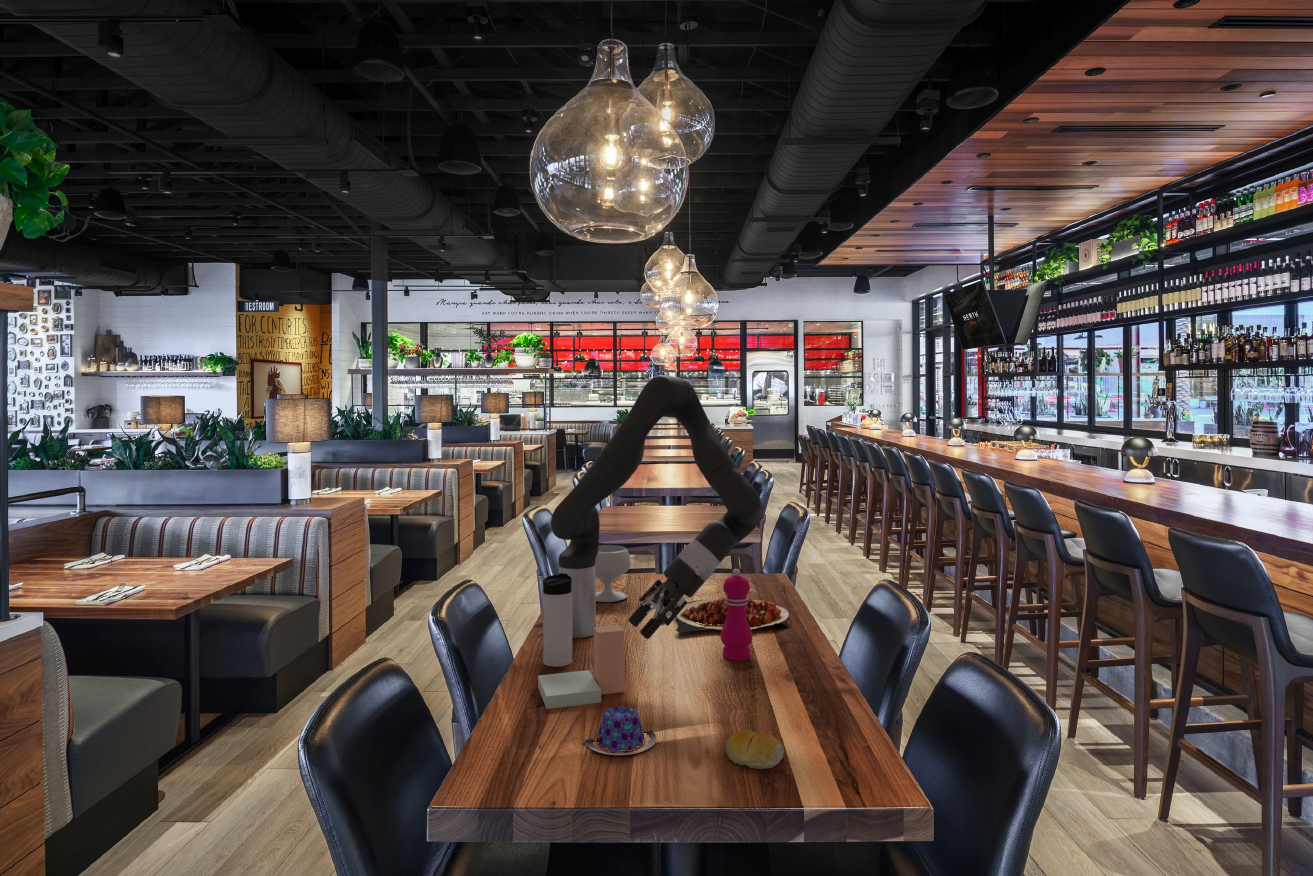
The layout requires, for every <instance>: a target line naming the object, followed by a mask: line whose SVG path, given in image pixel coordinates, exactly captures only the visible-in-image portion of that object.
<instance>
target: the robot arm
mask: <svg viewBox="0 0 1313 876" xmlns="http://www.w3.org/2000/svg"><path fill="white" fill-rule="evenodd" d="M662 418H673V419H676V420H677V421H678V422H679V423H680V425H682V427H683V428H684V430H685V431H686V433H687V434H688V437H689V440H690V445H691V450H692V451H691V452H692V455H693V460H694V462H695V464H696V466H697V469H699V471H700V473H701V474H702V476H703V477H704V478H705V480H706V481H707V483H708V485H709V486H710V487H711V488H712V490H713V491H715V492H716V493H717V495H718V496H719V498H720V499H721V501H722V503H723V504H724V506H725V508H726V512H725V513H723V515H722V516H721V517H720V518H719V519H717V521H712V522H709V523H708V524H707V525H705V526H704V528H703V529H702V530H701V531H700V532H699V533H698V535H697V536H695V538H694V539H693V540H692V541H691V542H690V543H688V544H687V545H686V546H685V547H684V548H683V549H682V551H680V553H679V554H678V555H677V556H676V557H675V558H674V560H673V561H672V562H671V563H670V564H669V565H668V566H667V567H666V568H665V569H664V571H663V575H664V577H665V578H666V580H665V581H664V582H663V581H661V579H656V581H655V582H653V584H652V585H651V586H650V587H649V588H648V589H647V590H646V591H645V592H644V593H643V594H642V595H641V597H640V598H639V602H640V603H639V606H638V607H637V608H636V609H635V610H634V612H633V613H632V614H631V615H630V616H629V618H627V619H628V622H629V623H630V624H631V625H632V626H633V627H635V628H636V627H638V626H639V625H640V624H641V622H643V620H644V619H645V618H646V617H647V615H649V613H651V612H652V611H654V610H655V612H654V614H653V615H652V617H651V618H650V619H649V620H648V621H647V622H646V623H645V624H644V626H643V627H642V628H641V629H640V630H639V633H640V635H641V636H642V637H644V639H646V640H650V638H651V637H652V636H653V635H654V633H656V631H658V629H659V628H660V627H661V626H664V625H666V626H667V627H669V626H670V625H671V624H672V623H673V621H674V620H675V619H676V616H677V615H678V614H679V613H680V611H681V610H682V609H683V608H684V607H685V605H686V604H687V603H688V601H687V600H686V599H685V598H684V595H685V596H686V597H687V598H692V597H694V595H695V594H697V592H698V591H699V589H700V588H701V587H702V586H703V585H704V584H705V582H706V581H707V580H709V578H710V577H711V576H712V575H713V573H714V572H715V570H716V569H717V567H719V565H720V563H722V561H723V560H724V559H726V557H727V556H728V555H729V554H730V552H731V551H732V549H733V548H734V547H735V546H736V545H737V544H739V543H740V542H742V540H743V539H745V538H746V537H748V536H749V535H750V534H751V533H753V531H754V530H755V529H756V528H757V526H758V525H759V524H760V523H761V521H762V519H763V516H764V510H763V504H762V499H761V496H760V495H759V493H758V491H757V490H756V489H755V487H754V486H753V485H752V483H750V481H749V479H747V478H746V476H745V475H744V474H743V473H742V472H741V471H740V469H739V468H738V465H737V464H736V463H735V461H734V460H733V458H732V456H731V455H730V454H729V452H728V451H727V449H726V448H725V446H724V445H723V444H722V442H721V440H720V439H719V437H718V436H717V433H716V432H715V430H714V428H713V426H712V424H711V422H710V420H709V418H708V416H707V413H706V411H705V410H704V407H703V405H702V403H701V401H700V399H699V396H698V394H697V392H696V390H695V388H694V387H693V385H692V384H691V382H689V381H688V380H687V379H685V378H682V377H679V376H671V375H665V374H661V375H660V374H659V375H656V376H655V375H654V376H653V377H652V378H650V379H649V380H648V382H647V383H646V384H645V385H644V386H643V388H642V390H641V391H640V393H639V394H638V396H637V398H636V399H635V402H634V403H633V405H632V406H631V409H630V410H629V412H628V414H627V415H626V417H625V418H624V420H623V422H622V423H620V426H619V427H618V428H617V430H616V432H614V434H613V436H612V437H611V438H610V439H609V441H608V442H607V443H606V444H605V446H604V447H603V449H602V450H601V451H600V453H598V455H597V456H596V458H595V459H594V461H593V463H592V464H591V466H589V468H588V469H587V471H586V472H585V473H584V475H583V476H582V477H581V479H580V480H579V481H578V482H577V484H576V485H575V486H574V488H573V489H571V491H570V492H569V493H568V494H567V495H566V496H565V497H564V498H563V499H562V501H560V502H559V503H558V504H557V506H556V507H555V509H554V510H553V512H552V515H551V519H550V528H551V531H552V532H551V533H552V534H553V535H554V536H555V537H556V538H558V539H560V540H563V541H569V543H568V545H567V547H566V548H565V549H564V550H563V551H562V552H561V553H560V554H559V555H558V575H559V574H560V573H566V574H568V576H570V577H571V578H572V587H571V588H572V639H583V638H588V637H591V636H594V627H597V624H596V623H597V621H596V618H597V610H596V608H597V604H596V588H597V586H596V581H597V579H596V578H597V577H595V560H596V556H597V554H598V549H599V546H600V515H599V510H598V509H597V507H596V506H597V505H599V504H600V503H601V502H602V501H603V500H605V499H607V498H608V497H609V496H611V495H612V494H614V493H615V492H616V491H618V490H619V489H621V488H622V486H624V485H625V484H626V483H627V482H628V481H629V480H630V478H631V477H632V476H633V475H634V473H635V472H636V470H637V469H638V468H639V466H640V465H641V463H642V462H643V461H642V460H643V457H644V453H645V451H644V450H645V445H646V444H645V443H646V439H647V437H648V435H649V433H650V432H651V431H652V430H653V428H654V427H655V425H656V424H657V423H658V422H659V421H660V420H661V419H662Z"/></svg>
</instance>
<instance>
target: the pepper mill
mask: <svg viewBox="0 0 1313 876" xmlns="http://www.w3.org/2000/svg"><path fill="white" fill-rule="evenodd" d="M722 588H723V592H724V594H726V596H725V597H724V598H725V599H726V604H727V605H728V615H727V619H726V621H725V624H724V625H722V628H721V630H720V631H721V632H720V641H721V643H722V645H724V646H723V647H722V657H723V658H724V659H726V660H729V661H736V662H737V661H745V660H748V659H750V658H751V648H750V647H749V646H750V645H751V644H752V642H753V631H752V629H750V628H751V627H750V626H749V624H748V622H747V619H746V615H745V607H746V604H747V603H748V602H747V599H749V598H748V596H747V595H748V594H749V593H750V589H751V586H750V582H749V581H748V579H747V578H746V577H744V576H742V575H741V571H740V569H738V568H734V569H733V570H732V575H730V576H728V577H727V578H725V580H724V582H723V587H722Z"/></svg>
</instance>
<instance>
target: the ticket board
mask: <svg viewBox="0 0 1313 876" xmlns="http://www.w3.org/2000/svg"><path fill="white" fill-rule="evenodd" d="M537 688H538V691H539V693H540V696H541V698H542V701H543V703H544V706H545V708H546V710H549V709H558V708H564V707H565V708H566V707H575V706H581V705H591V704H597V703H599V704H601V703H602V695H601V689H600V687H599V686H598V684H597V682H596V681H595V679H594V675H593V674H592V673H591V671H590V670H589V669H588V670H579V671H578V670H576V671H568V672H559V673H558V672H557V673H550V674H542V675H541V674H540V675H538V676H537Z"/></svg>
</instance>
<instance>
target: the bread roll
mask: <svg viewBox="0 0 1313 876" xmlns="http://www.w3.org/2000/svg"><path fill="white" fill-rule="evenodd" d="M725 745H726V746H725V748H726V754H727V757H728V758H729V760H730V761H731V760H732V761H733V762H732V761H731V762H732V763H734V764H736V763H737V764H736V765H738V764H739V766H742V765H743V767H745V766H744V765H746V767H748V768H751V769H753V768H755V769H756V770H766V769H771V768H774V767H775V766H777V765H779V764H780V762H781V761H782V759H783V758H784V753H785V749H784V747H783V746H782V743H781V741H780V740H779V739H777V738H776V737H775V736H773V735H772V734H769V733H765V732H762V733H759V734H758V733H757V732H755V731H754V730H751V729H742V730H738V731H736V732H734V733H733V734H731V735H730V736H729V738H728V739H727V741H726V744H725Z"/></svg>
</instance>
